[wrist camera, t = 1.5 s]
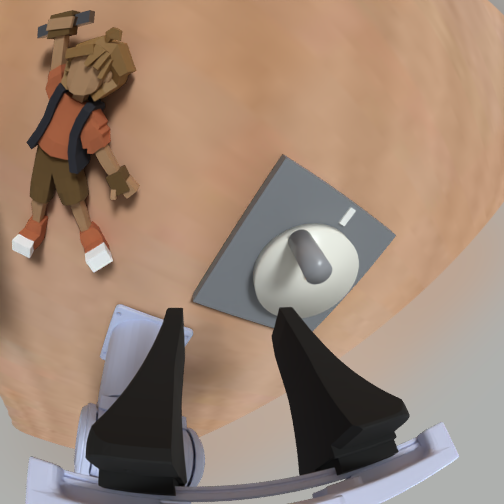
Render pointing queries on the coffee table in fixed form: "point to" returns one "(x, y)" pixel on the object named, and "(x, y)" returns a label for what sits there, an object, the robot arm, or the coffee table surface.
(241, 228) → the stand plate
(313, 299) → the dial
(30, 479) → the robot arm
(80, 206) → the character figurine
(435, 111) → the coffee table surface
